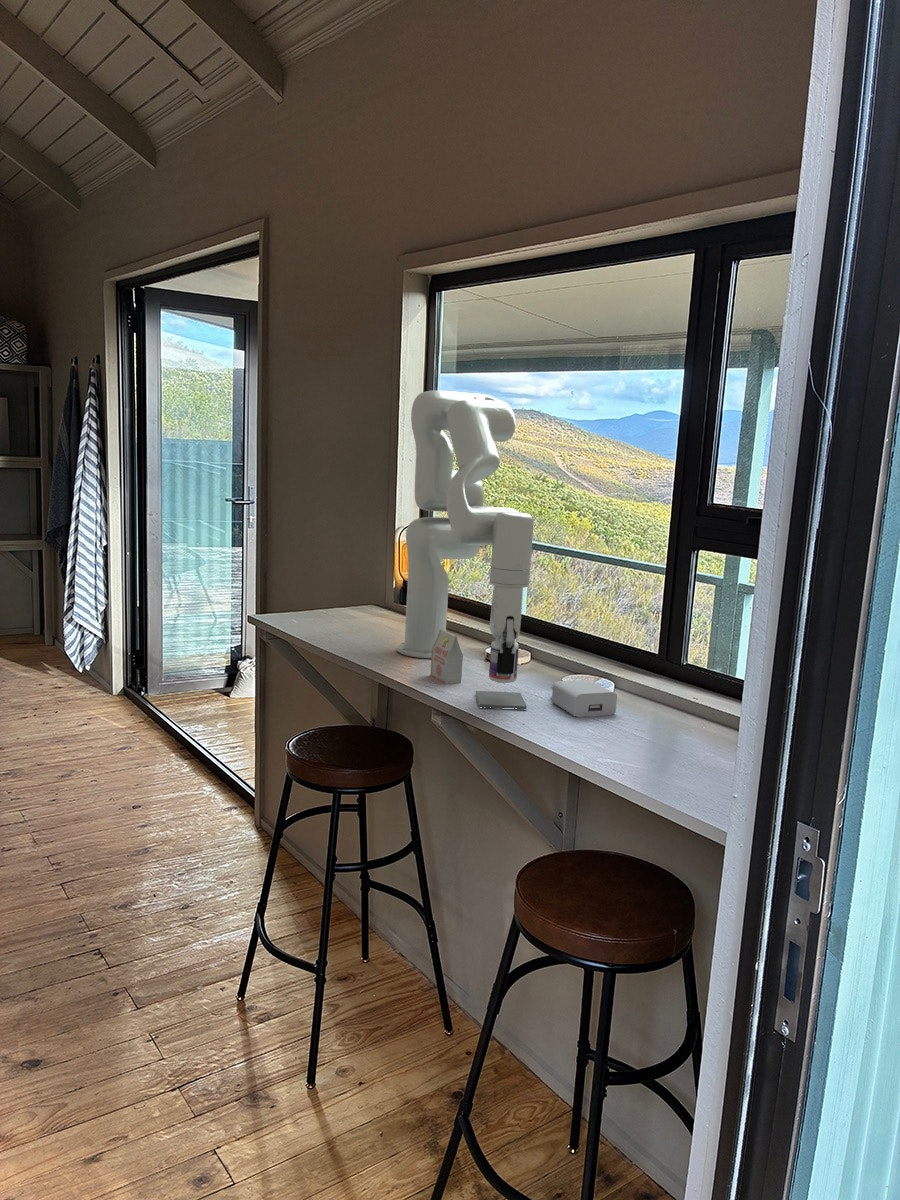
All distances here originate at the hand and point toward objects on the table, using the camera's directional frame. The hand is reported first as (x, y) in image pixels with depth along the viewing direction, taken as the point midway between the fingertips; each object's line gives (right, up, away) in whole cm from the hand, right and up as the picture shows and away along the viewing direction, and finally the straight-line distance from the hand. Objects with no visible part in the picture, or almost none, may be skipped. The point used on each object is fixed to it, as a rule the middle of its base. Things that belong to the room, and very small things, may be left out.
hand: (503, 668), depth 177 cm
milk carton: (-11, -4, +15) cm, 19 cm away
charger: (+14, -8, +3) cm, 17 cm away
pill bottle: (0, -2, 0) cm, 2 cm away
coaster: (0, -7, +1) cm, 7 cm away
